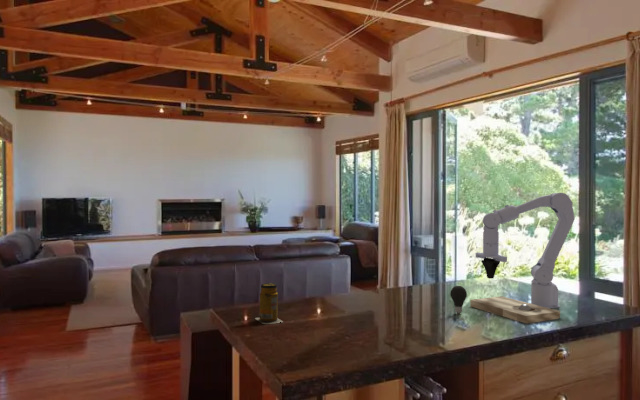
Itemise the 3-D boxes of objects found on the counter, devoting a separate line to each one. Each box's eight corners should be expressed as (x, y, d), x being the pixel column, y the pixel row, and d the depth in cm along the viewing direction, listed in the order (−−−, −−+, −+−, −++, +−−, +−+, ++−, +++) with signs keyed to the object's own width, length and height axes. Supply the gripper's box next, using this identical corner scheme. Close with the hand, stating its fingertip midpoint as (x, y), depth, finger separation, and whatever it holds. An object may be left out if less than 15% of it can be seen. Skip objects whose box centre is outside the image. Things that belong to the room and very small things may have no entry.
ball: (532, 317, 160) (527, 314, 164) (533, 306, 160) (527, 303, 164) (521, 316, 160) (516, 313, 164) (522, 305, 160) (517, 302, 164)
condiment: (274, 316, 159) (275, 281, 159) (283, 322, 151) (284, 286, 151) (254, 318, 156) (254, 283, 155) (262, 325, 148) (262, 288, 148)
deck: (501, 302, 182) (501, 296, 182) (560, 318, 158) (560, 311, 158) (470, 306, 175) (470, 299, 175) (526, 323, 152) (526, 315, 152)
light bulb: (467, 316, 161) (467, 287, 160) (451, 315, 162) (451, 286, 162) (465, 312, 166) (465, 284, 166) (449, 311, 167) (449, 284, 167)
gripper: (469, 242, 185) (469, 275, 186) (497, 245, 172) (496, 281, 172) (483, 241, 188) (482, 274, 188) (511, 245, 175) (510, 280, 175)
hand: (490, 278), depth 181 cm, fingers closed
